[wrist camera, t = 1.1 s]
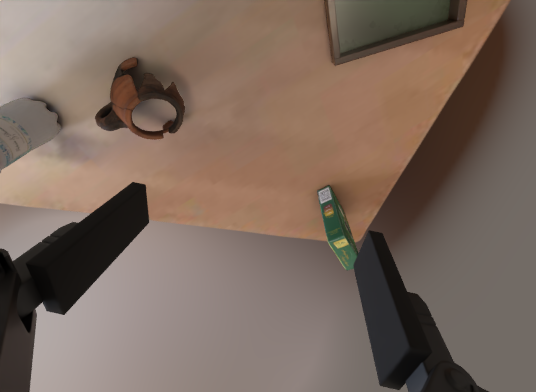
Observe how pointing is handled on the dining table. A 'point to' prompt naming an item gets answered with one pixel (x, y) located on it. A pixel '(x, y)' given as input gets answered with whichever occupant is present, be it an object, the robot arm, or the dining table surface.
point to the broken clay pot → (137, 102)
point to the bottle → (24, 128)
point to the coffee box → (337, 228)
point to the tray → (386, 24)
